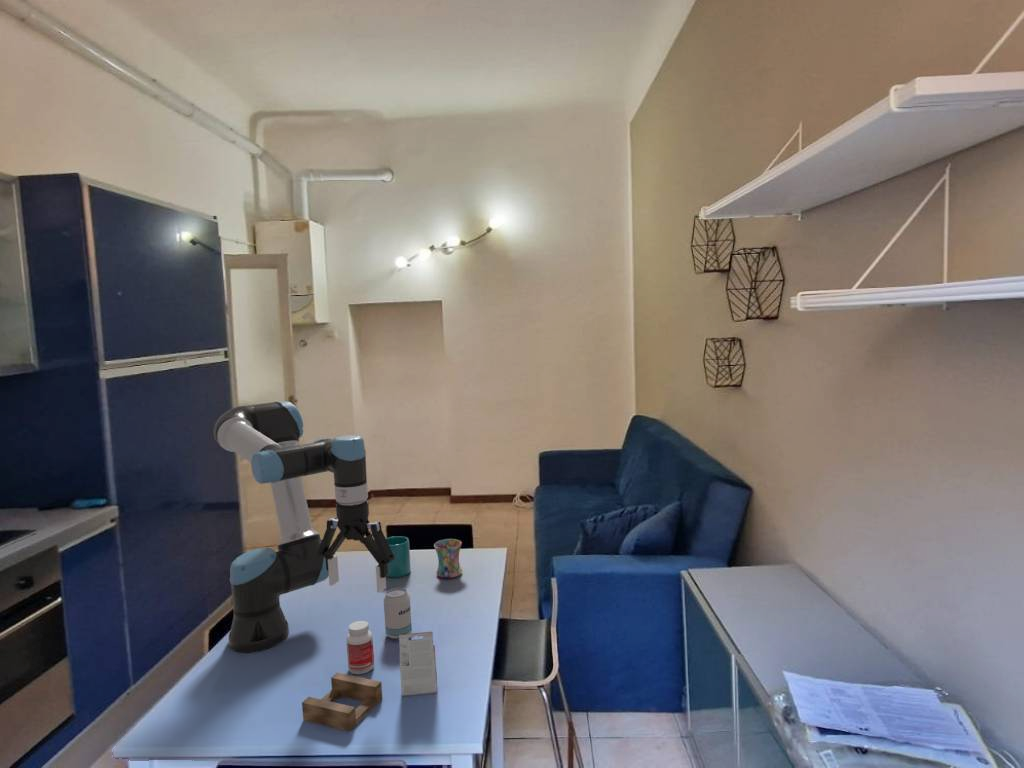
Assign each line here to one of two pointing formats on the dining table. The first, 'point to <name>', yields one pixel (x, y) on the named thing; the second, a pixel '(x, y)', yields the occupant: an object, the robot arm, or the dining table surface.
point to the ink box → (417, 664)
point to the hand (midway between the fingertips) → (357, 586)
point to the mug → (448, 558)
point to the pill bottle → (360, 648)
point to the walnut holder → (338, 713)
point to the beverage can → (397, 613)
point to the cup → (399, 556)
